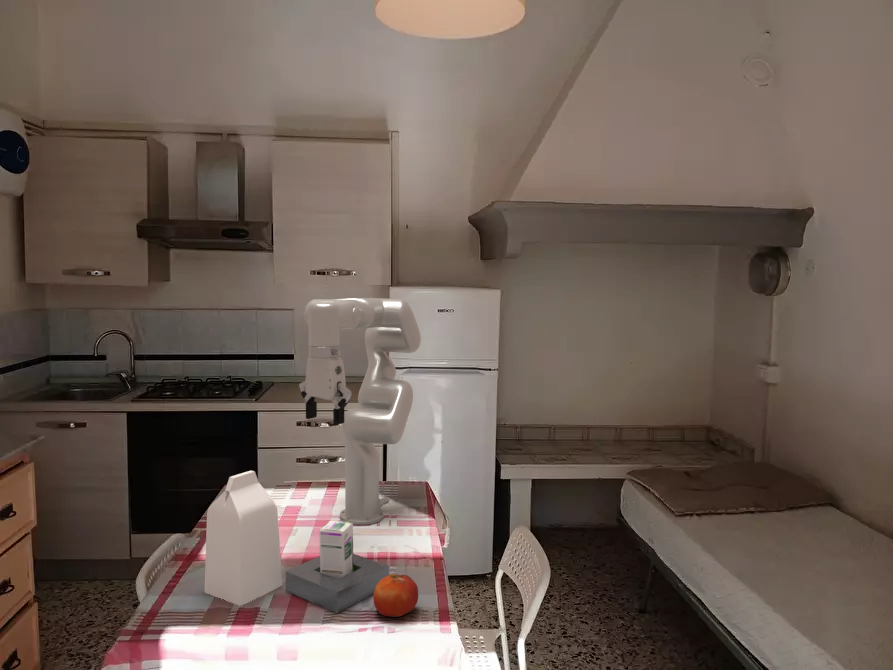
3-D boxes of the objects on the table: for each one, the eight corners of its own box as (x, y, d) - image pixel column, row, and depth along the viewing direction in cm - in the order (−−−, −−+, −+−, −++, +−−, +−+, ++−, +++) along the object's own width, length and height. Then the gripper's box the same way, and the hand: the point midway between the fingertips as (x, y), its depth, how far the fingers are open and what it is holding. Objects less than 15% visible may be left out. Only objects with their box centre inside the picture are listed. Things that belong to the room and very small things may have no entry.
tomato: (369, 622, 139) (370, 584, 138) (376, 600, 148) (377, 564, 147) (415, 624, 138) (416, 586, 138) (419, 602, 148) (420, 566, 147)
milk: (240, 607, 144) (239, 486, 142) (204, 592, 150) (202, 476, 148) (282, 585, 154) (281, 471, 152) (247, 572, 161) (245, 463, 158)
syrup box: (344, 595, 150) (344, 531, 149) (319, 592, 151) (319, 528, 150) (354, 583, 155) (354, 521, 154) (329, 580, 157) (329, 519, 155)
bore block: (338, 566, 164) (338, 548, 164) (388, 585, 155) (388, 566, 154) (285, 590, 152) (285, 571, 151) (337, 613, 142) (337, 592, 142)
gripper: (360, 354, 167) (360, 423, 169) (311, 348, 177) (312, 413, 179) (338, 357, 161) (339, 429, 163) (288, 351, 171) (289, 418, 173)
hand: (324, 420), depth 171 cm, fingers open, 9 cm apart
